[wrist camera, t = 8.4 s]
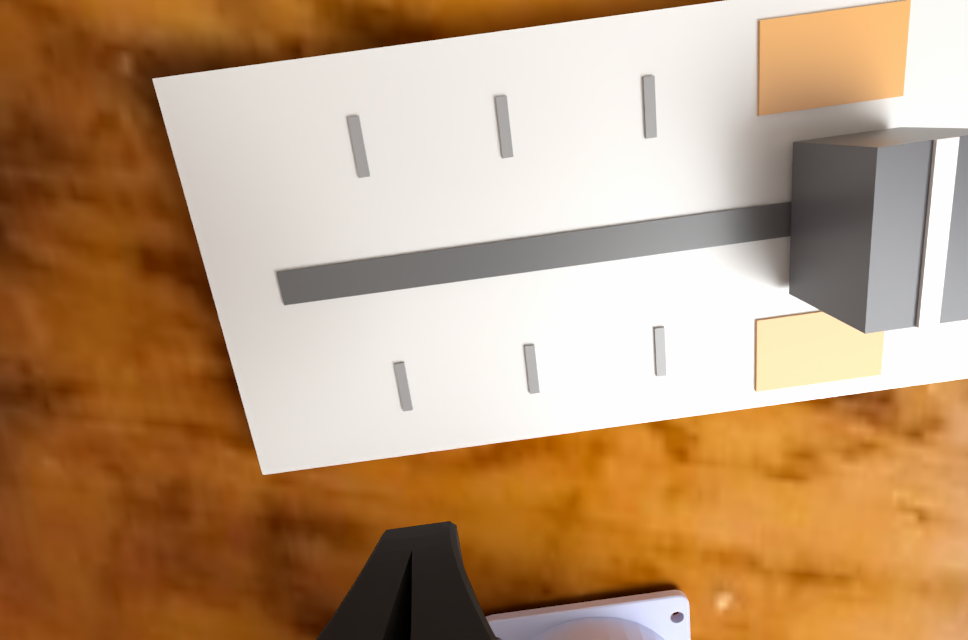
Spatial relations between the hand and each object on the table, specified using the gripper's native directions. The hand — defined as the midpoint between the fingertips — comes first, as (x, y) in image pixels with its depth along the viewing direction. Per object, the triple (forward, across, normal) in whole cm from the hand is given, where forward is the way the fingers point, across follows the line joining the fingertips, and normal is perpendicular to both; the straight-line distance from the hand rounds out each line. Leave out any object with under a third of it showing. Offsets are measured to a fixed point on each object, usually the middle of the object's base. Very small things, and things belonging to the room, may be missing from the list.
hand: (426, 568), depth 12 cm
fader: (+8, -12, -4) cm, 15 cm away
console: (+9, -7, -4) cm, 12 cm away
